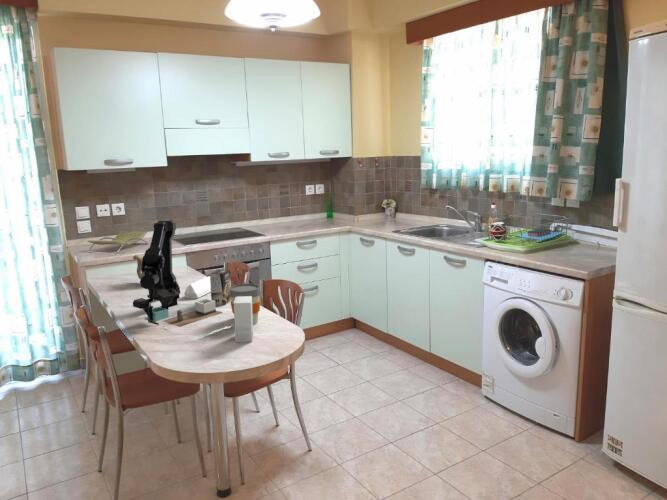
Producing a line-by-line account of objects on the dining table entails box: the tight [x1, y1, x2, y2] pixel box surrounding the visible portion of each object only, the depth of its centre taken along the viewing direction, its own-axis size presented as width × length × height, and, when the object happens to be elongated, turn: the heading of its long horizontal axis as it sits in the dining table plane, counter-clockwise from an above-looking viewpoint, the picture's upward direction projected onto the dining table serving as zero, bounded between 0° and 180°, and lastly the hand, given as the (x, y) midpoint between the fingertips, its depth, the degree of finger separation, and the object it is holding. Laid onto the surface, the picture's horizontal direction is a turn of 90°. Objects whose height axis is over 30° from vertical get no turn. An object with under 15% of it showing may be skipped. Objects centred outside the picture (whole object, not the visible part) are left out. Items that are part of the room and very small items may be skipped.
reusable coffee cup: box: [230, 283, 262, 326], centre depth 216 cm, size 13×13×15 cm
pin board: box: [162, 302, 223, 327], centre depth 221 cm, size 12×22×6 cm, turn 142°
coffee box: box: [209, 268, 232, 307], centre depth 240 cm, size 9×6×16 cm
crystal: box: [184, 275, 211, 300], centre depth 263 cm, size 7×7×24 cm
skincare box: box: [233, 296, 254, 344], centre depth 198 cm, size 8×7×16 cm
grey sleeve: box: [194, 298, 217, 316], centre depth 226 cm, size 6×6×5 cm
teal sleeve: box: [147, 306, 170, 325], centre depth 221 cm, size 6×6×5 cm
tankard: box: [132, 254, 162, 288], centre depth 282 cm, size 20×13×15 cm, turn 58°
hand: (158, 318), depth 221 cm, fingers closed on teal sleeve, 6 cm apart
